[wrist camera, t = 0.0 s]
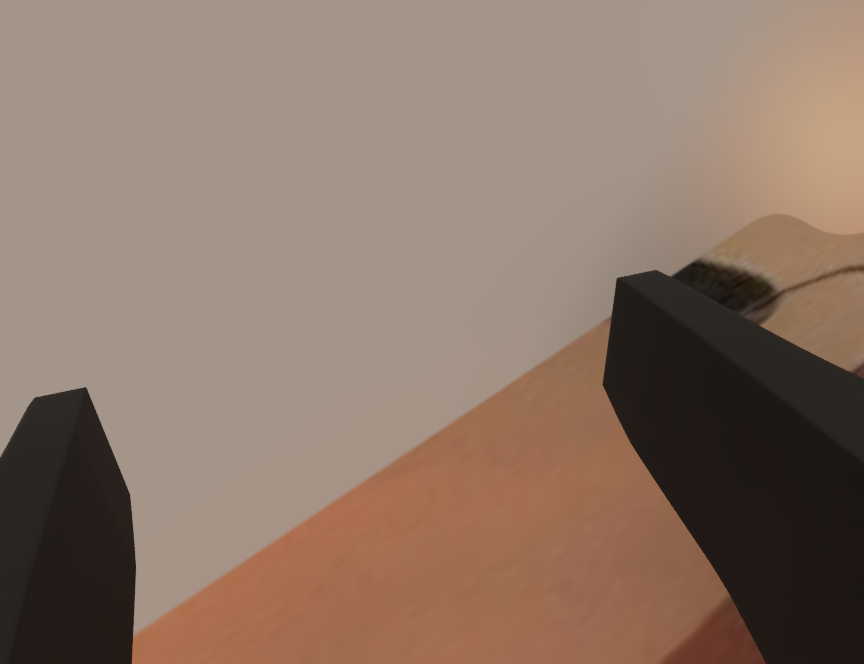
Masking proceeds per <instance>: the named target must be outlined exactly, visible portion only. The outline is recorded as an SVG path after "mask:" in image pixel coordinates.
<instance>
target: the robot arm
mask: <svg viewBox="0 0 864 664" xmlns="http://www.w3.org/2000/svg"><path fill="white" fill-rule="evenodd" d="M603 387H604V389H605V391H606V393H607V395H608V397H609V400H610V402H611V404H612V406H613V408H614V410H615V413H616V415H617V417H618V419H619V421H620V423H621V425H622V427H623V429H624V431H625V433H626V435H627V437H628V439H629V441H630V443H631V444H632V446H633V447H634V449H635V451H636V452H637V454H638V455H639V457H640V458H641V460H642V461H643V463H644V464H645V466H646V467H647V469H648V470H649V472H650V474H651V475H652V477H653V478H654V480H655V481H656V483H657V484H658V486H659V487H660V489H661V490H662V492H663V493H664V495H665V496H666V498H667V499H668V501H669V502H670V504H671V505H672V507H673V508H674V510H675V511H676V512H677V514H678V515H679V517H680V518H681V520H682V521H683V523H684V524H685V526H686V527H687V529H688V530H689V532H690V533H691V535H692V536H693V538H694V539H695V541H696V542H697V544H698V545H699V547H700V548H701V550H702V551H703V553H704V554H705V556H706V557H707V559H708V560H709V562H710V563H711V565H712V566H713V568H714V569H715V571H716V573H717V574H718V576H719V578H720V579H721V581H722V583H723V584H724V586H725V587H726V589H727V591H728V592H729V594H730V596H731V598H732V600H733V601H734V603H735V605H736V607H737V609H738V611H739V613H740V615H741V617H742V618H743V620H744V622H745V624H746V626H747V628H748V630H749V632H750V634H751V635H752V637H753V639H754V641H755V643H756V645H757V647H758V649H759V651H760V652H761V654H762V656H763V658H764V660H765V662H766V664H864V379H863V378H861V377H859V376H857V375H855V374H853V373H851V372H849V371H847V370H845V369H842V368H840V367H838V366H836V365H834V364H832V363H830V362H828V361H826V360H824V359H822V358H820V357H818V356H816V355H814V354H812V353H810V352H808V351H806V350H804V349H802V348H800V347H798V346H796V345H794V344H792V343H791V342H789V341H787V340H785V339H783V338H781V337H779V336H777V335H776V334H774V333H772V332H770V331H768V330H766V329H764V328H763V327H761V326H759V325H757V324H755V323H753V322H752V321H750V320H748V319H746V318H744V317H743V316H741V315H739V314H737V313H735V312H734V311H732V310H730V309H728V308H726V307H725V306H723V305H721V304H719V303H717V302H716V301H714V300H712V299H710V298H708V297H707V296H705V295H703V294H701V293H699V292H698V291H696V290H694V289H692V288H690V287H689V286H687V285H685V284H683V283H681V282H679V281H677V280H675V279H673V278H672V277H670V276H667V275H665V274H663V273H661V272H659V271H657V270H654V271H649V272H644V273H639V274H634V275H630V276H625V277H620V278H617V281H616V289H615V296H614V304H613V311H612V319H611V326H610V334H609V341H608V349H607V356H606V364H605V371H604V379H603ZM135 562H136V561H135V547H134V533H133V522H132V511H131V500H130V494H129V491H128V489H127V486H126V484H125V481H124V479H123V476H122V474H121V472H120V469H119V466H118V464H117V462H116V459H115V457H114V454H113V452H112V449H111V447H110V445H109V442H108V440H107V437H106V435H105V432H104V430H103V427H102V425H101V423H100V420H99V418H98V415H97V413H96V410H95V408H94V406H93V403H92V401H91V398H90V396H89V393H88V391H87V388H86V387H85V388H80V389H75V390H70V391H65V392H60V393H56V394H51V395H46V396H41V397H36V398H34V400H33V401H32V402H31V403H30V405H29V406H28V408H27V410H26V412H25V413H24V415H23V417H22V419H21V421H20V422H19V424H18V426H17V428H16V430H15V432H14V434H13V436H12V437H11V439H10V441H9V443H8V445H7V447H6V448H5V450H4V452H3V454H2V455H1V457H0V664H132V645H133V625H134V601H135V577H136V563H135Z"/></svg>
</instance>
